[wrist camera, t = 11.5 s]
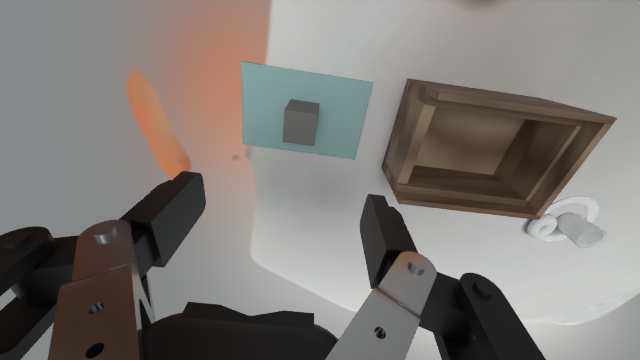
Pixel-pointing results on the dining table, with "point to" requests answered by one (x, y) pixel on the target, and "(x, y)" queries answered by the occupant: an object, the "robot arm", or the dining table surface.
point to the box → (486, 149)
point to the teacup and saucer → (569, 224)
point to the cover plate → (308, 87)
